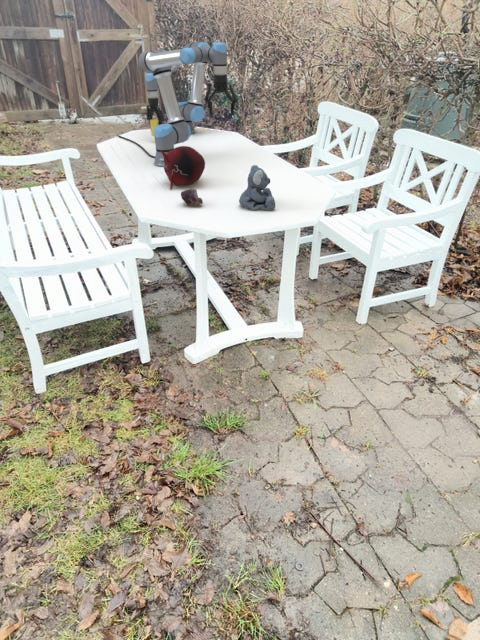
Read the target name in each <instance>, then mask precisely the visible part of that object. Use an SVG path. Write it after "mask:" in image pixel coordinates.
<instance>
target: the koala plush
mask: <svg viewBox="0 0 480 640" xmlns="http://www.w3.org/2000/svg"><path fill="white" fill-rule="evenodd" d="M270 183H271V178H269V176H268V175H267V173H266V172H265V170H264V169H263V168H261V167H259V165H257V164H253V165H250V170H249V173H248V176H247V188H246V189H245V190H244V191H243V192H242V193H241V194H240V197H239V199H238V203H239V204H240V206H241V207H242V208H246V209H247V210H252V211H255V210H261V211H272V210H274V209H275V208H276V200H275V198H274V196H273V194H272V191H271V188H270V187H268V186H269V185H270Z"/></svg>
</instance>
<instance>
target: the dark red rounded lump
mask: <svg viewBox="0 0 480 640" xmlns="http://www.w3.org/2000/svg"><path fill="white" fill-rule="evenodd" d="M161 153H162V154H163V156H164V167H163V171H164V173H165V175H166V176H167V179H168V181H169V183H170V184H169V185H170V186H169V190H172V189H173V186H174V185H175V186H181V187H182V186H186V187H187V186H191V185H194V184H195V183H197V182H198V181H199V180H200V179H201V177H202V175H203V173H204V172H205V168H206V160H205V158H204V157H203V155H202V154H200V152H199V151H198V150H196V149H194V148H193V147H191V146H187V145H181V146H177V147H174V149H172V150H171V151H169V152H168V153H167V154H165V153H164V152H163V151H162V150H161Z"/></svg>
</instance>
